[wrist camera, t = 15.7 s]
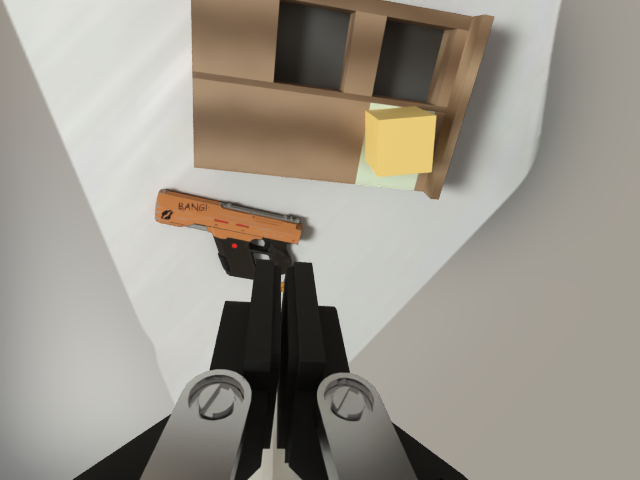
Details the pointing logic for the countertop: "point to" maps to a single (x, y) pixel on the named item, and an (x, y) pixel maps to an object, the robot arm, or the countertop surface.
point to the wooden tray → (326, 84)
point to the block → (399, 140)
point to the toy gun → (232, 230)
